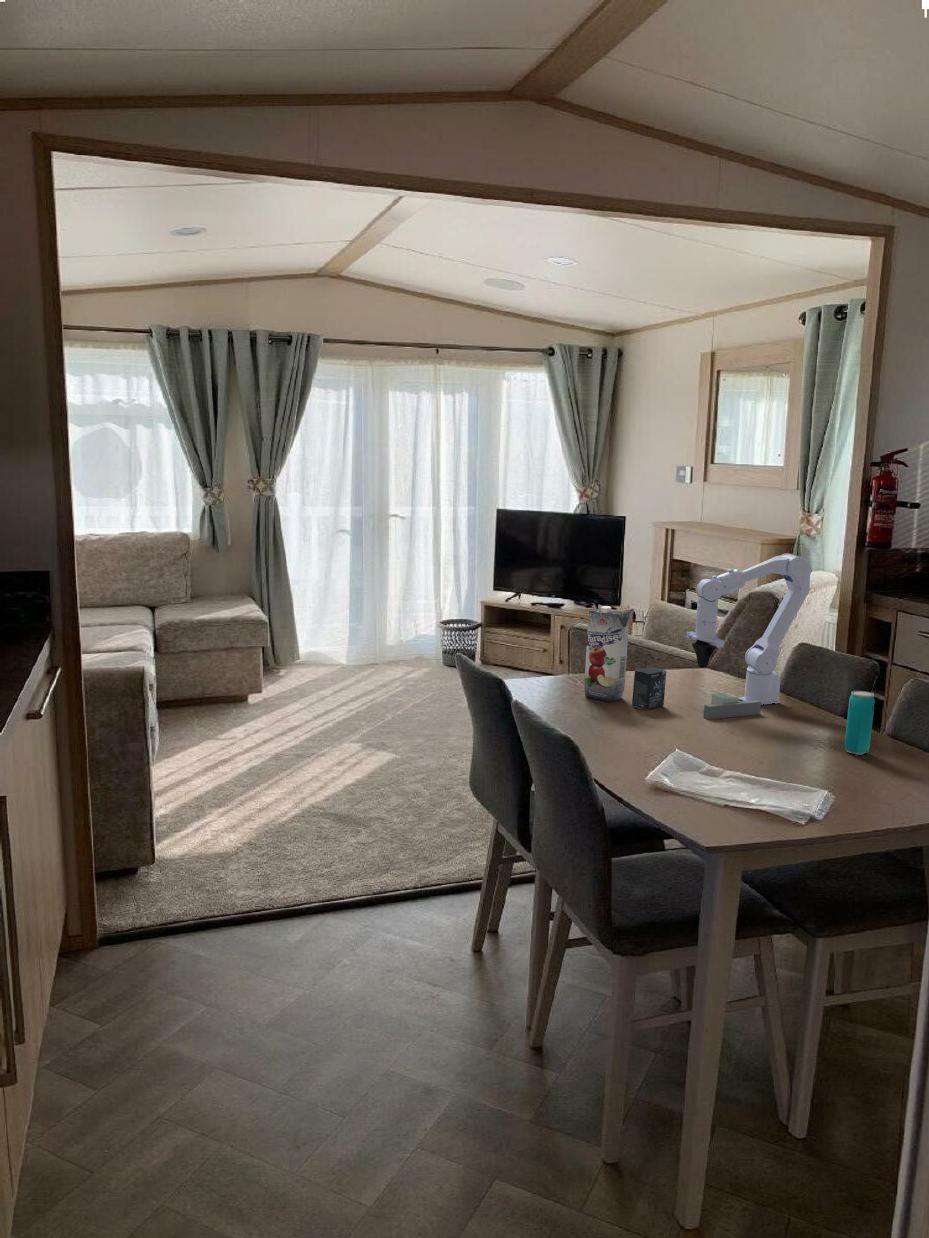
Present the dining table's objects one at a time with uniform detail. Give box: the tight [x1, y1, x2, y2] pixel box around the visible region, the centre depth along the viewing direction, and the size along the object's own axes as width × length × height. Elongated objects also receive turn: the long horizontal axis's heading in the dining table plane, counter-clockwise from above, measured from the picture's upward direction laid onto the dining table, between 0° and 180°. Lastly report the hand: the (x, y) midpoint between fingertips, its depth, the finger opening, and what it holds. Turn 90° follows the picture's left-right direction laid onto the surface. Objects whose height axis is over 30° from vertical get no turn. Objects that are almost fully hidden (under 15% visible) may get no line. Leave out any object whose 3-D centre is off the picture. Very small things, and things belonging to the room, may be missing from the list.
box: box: [631, 666, 667, 711], centre depth 278 cm, size 8×6×11 cm
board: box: [702, 700, 762, 720], centre depth 272 cm, size 18×2×4 cm, turn 115°
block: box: [710, 692, 739, 704], centre depth 275 cm, size 5×5×5 cm
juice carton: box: [583, 605, 630, 703], centre depth 284 cm, size 9×10×27 cm
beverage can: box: [844, 690, 876, 754], centre depth 240 cm, size 6×6×15 cm
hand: (702, 667), depth 286 cm, fingers closed
